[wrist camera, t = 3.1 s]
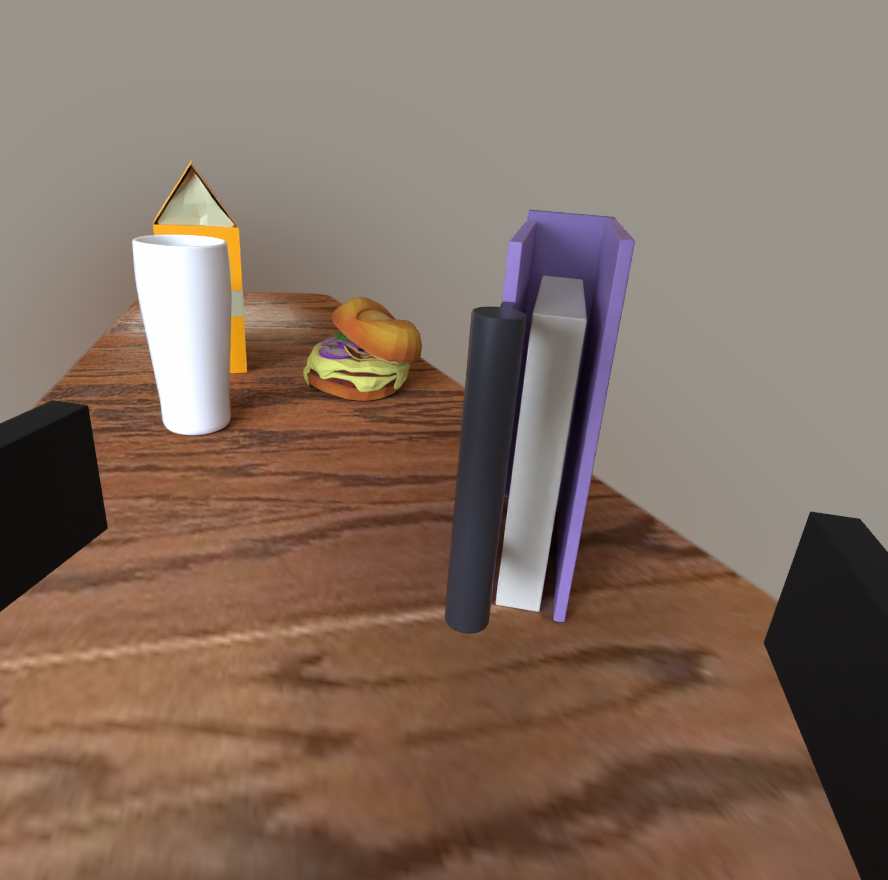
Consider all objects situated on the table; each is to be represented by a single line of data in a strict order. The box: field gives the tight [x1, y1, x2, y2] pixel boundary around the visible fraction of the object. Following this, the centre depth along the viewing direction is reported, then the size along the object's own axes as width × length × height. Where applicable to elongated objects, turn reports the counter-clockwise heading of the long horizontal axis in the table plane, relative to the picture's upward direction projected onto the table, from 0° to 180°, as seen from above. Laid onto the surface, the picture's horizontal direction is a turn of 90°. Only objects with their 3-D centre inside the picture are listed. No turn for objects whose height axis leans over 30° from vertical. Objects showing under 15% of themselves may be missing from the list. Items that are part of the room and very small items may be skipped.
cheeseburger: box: [304, 297, 422, 401], centre depth 63 cm, size 10×11×10 cm
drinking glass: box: [132, 235, 232, 435], centre depth 50 cm, size 7×7×15 cm
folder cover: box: [445, 220, 537, 634], centre depth 33 cm, size 2×18×18 cm, turn 169°
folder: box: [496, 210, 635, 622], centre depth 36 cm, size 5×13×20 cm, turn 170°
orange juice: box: [153, 161, 247, 373], centre depth 65 cm, size 8×9×20 cm
